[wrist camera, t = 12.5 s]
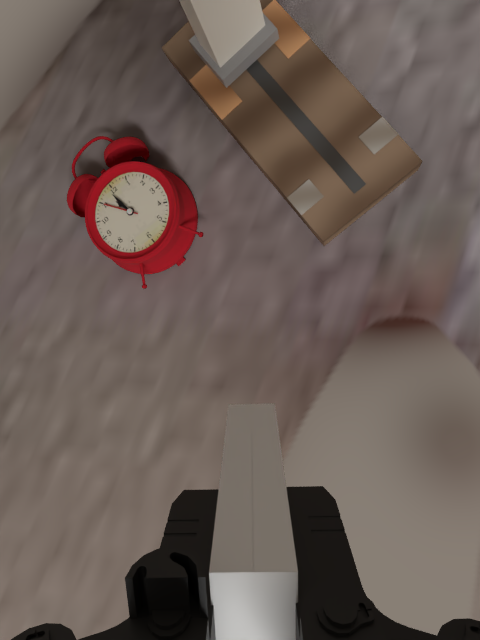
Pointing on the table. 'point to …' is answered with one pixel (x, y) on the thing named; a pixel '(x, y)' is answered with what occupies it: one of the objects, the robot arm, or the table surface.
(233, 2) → the fader tab
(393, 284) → the table surface
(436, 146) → the table surface
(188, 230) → the alarm clock
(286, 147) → the board
